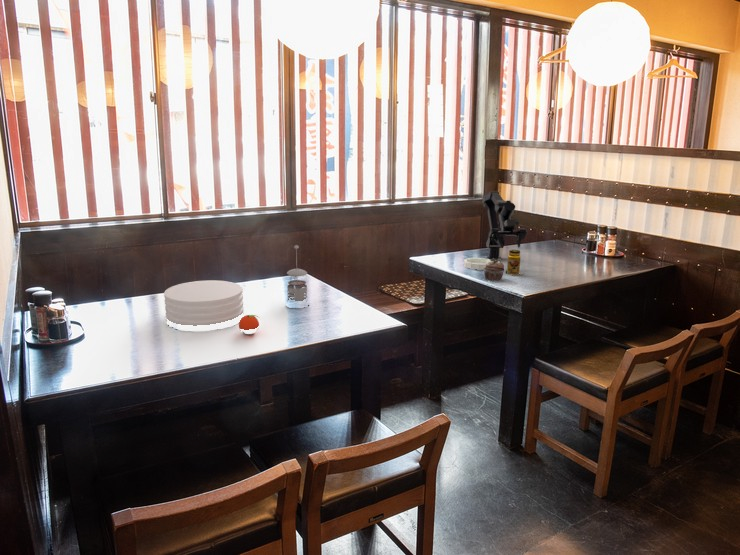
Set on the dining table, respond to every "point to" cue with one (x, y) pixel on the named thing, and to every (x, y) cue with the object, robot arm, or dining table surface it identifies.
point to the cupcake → (494, 270)
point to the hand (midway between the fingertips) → (510, 247)
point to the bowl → (476, 263)
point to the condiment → (513, 262)
